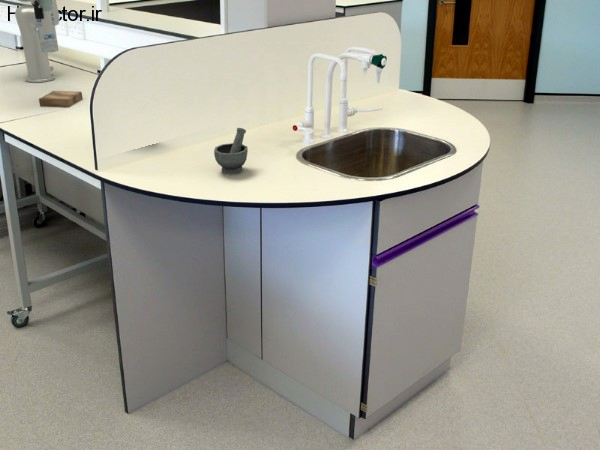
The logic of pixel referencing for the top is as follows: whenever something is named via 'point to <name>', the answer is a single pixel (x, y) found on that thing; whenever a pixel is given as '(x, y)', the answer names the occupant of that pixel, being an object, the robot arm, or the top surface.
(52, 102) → the square brown tray
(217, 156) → the mortar and pestle
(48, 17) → the pale blue bottle
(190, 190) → the top surface
